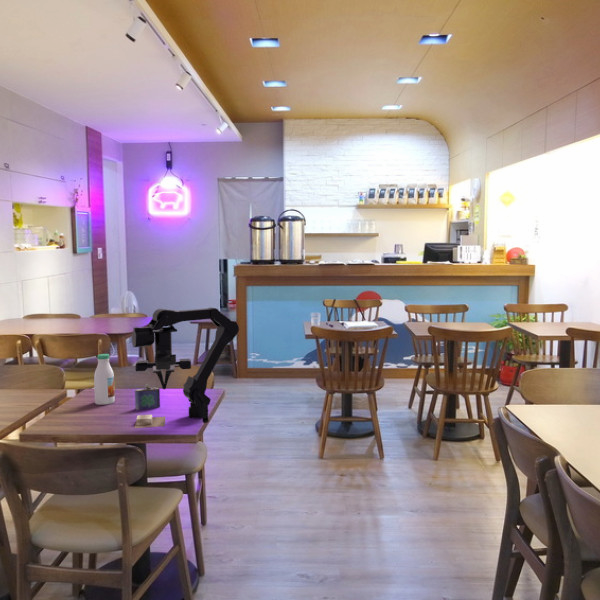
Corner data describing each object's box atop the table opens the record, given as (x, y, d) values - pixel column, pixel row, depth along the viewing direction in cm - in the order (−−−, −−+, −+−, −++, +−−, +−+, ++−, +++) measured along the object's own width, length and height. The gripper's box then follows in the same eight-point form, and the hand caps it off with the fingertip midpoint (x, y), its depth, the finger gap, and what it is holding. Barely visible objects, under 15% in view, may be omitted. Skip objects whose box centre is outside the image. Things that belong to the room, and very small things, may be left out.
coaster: (152, 420, 199) (152, 414, 199) (151, 424, 194) (151, 418, 194) (137, 421, 198) (137, 415, 198) (136, 425, 193) (136, 419, 193)
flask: (135, 413, 213) (134, 386, 212) (135, 411, 215) (134, 384, 215) (160, 411, 215) (159, 384, 215) (159, 409, 218) (159, 382, 218)
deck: (165, 420, 203) (165, 416, 203) (164, 430, 191) (164, 426, 191) (137, 422, 201) (136, 418, 201) (134, 432, 189) (134, 428, 189)
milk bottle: (102, 406, 224) (100, 356, 222) (91, 403, 228) (89, 354, 227) (118, 402, 230) (117, 354, 228) (107, 399, 235) (106, 352, 233)
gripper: (133, 349, 185) (134, 396, 187) (190, 347, 189) (191, 392, 190) (136, 344, 196) (137, 388, 197) (190, 342, 200) (191, 385, 201)
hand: (164, 389), depth 196 cm, fingers closed
